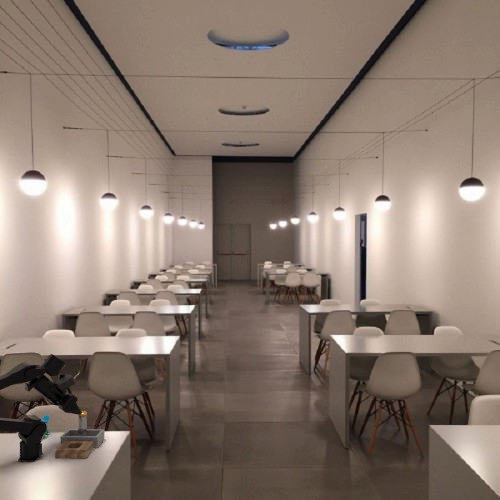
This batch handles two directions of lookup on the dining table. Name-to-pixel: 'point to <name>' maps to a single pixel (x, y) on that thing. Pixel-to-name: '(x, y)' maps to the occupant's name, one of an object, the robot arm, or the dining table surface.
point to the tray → (92, 435)
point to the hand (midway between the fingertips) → (75, 410)
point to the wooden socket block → (74, 449)
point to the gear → (45, 419)
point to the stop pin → (82, 424)
